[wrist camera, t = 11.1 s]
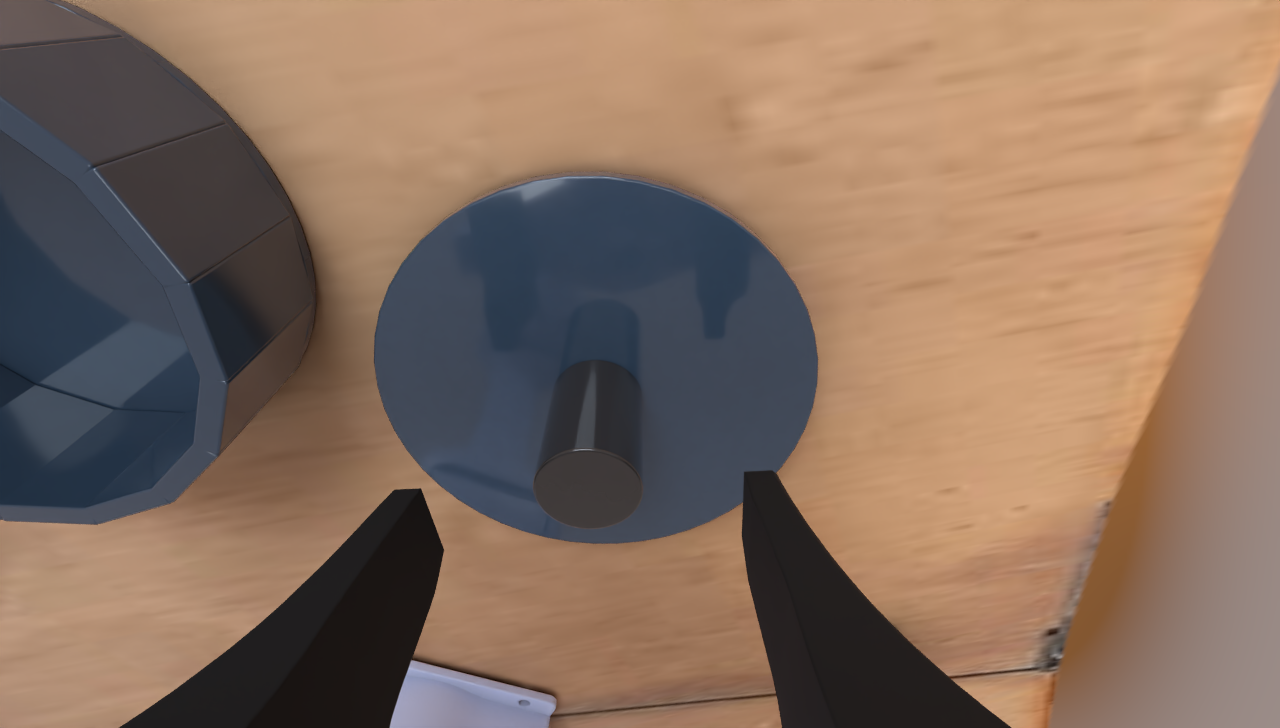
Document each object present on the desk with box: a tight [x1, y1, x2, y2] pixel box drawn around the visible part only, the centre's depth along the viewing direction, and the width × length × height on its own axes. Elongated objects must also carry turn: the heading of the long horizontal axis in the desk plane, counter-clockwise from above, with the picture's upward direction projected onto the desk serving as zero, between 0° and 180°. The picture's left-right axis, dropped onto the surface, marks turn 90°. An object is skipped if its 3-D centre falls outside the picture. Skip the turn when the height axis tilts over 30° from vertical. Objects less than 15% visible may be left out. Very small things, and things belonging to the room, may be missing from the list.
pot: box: [0, 0, 316, 525], centre depth 14 cm, size 12×12×4 cm
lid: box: [374, 172, 818, 544], centre depth 16 cm, size 13×13×5 cm
